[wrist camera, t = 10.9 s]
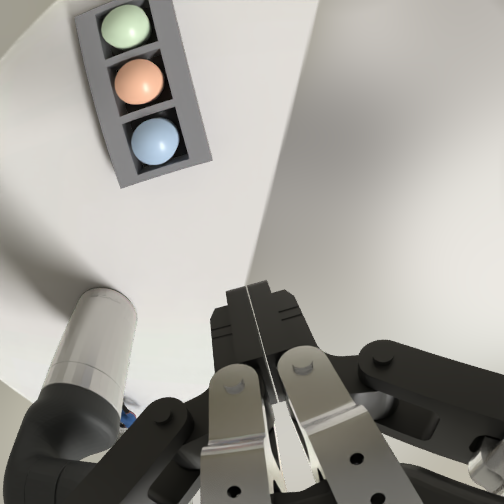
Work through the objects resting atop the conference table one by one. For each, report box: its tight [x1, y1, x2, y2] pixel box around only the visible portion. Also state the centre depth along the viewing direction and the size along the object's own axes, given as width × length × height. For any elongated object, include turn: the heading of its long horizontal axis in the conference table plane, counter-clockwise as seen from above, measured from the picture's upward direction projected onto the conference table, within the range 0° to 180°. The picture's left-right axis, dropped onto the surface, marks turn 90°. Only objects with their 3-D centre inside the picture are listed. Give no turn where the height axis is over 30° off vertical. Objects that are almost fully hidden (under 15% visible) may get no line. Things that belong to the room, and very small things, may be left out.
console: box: [75, 0, 213, 189], centre depth 28 cm, size 20×10×4 cm, turn 13°
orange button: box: [115, 59, 165, 104], centre depth 27 cm, size 5×5×4 cm
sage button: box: [101, 5, 152, 51], centre depth 24 cm, size 5×5×4 cm
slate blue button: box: [131, 117, 180, 165], centre depth 30 cm, size 5×5×4 cm
